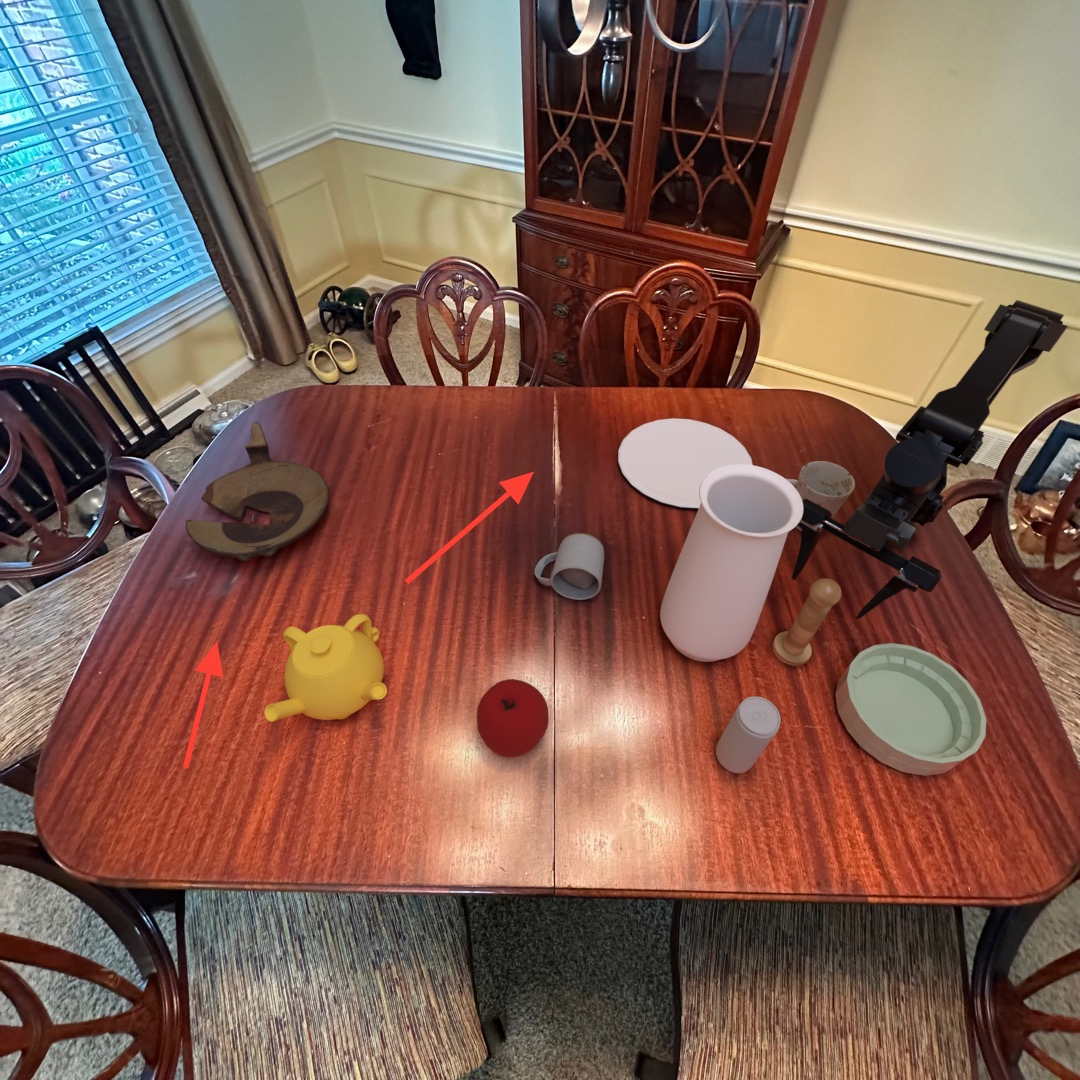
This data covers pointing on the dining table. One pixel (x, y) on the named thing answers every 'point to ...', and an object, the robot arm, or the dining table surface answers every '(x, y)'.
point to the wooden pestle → (806, 623)
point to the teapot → (331, 671)
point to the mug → (824, 485)
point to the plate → (677, 458)
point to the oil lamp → (261, 504)
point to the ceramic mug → (575, 567)
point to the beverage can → (747, 734)
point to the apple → (512, 717)
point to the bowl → (910, 709)
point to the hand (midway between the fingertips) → (824, 598)
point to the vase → (728, 561)
